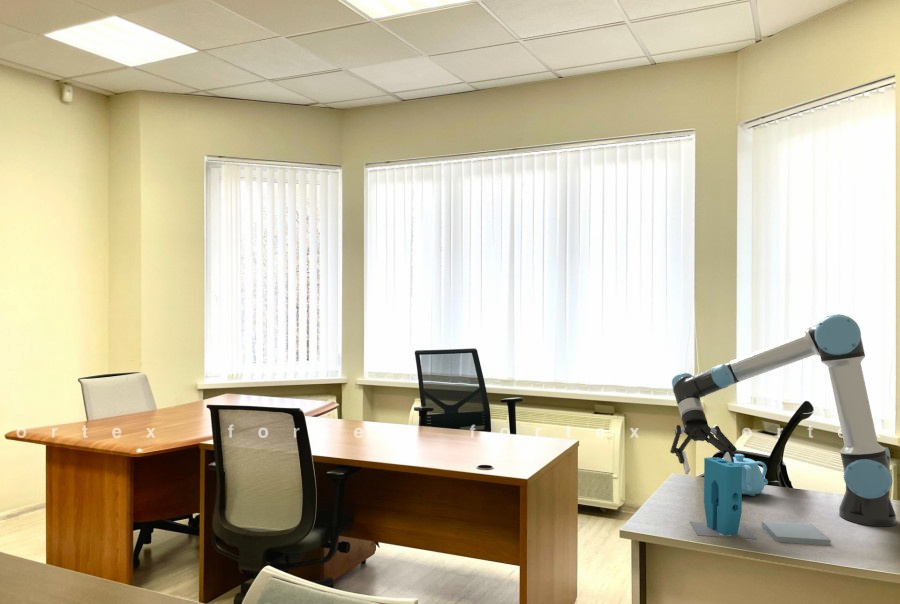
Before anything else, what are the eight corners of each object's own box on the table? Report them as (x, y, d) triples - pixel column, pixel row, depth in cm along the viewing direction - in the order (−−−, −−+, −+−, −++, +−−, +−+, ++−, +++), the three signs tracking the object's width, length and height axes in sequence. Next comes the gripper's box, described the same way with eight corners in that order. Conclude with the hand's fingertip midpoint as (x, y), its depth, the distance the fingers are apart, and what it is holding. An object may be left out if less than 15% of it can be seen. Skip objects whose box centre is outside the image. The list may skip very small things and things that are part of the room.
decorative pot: (748, 501, 225) (748, 461, 226) (705, 490, 238) (706, 452, 238) (772, 494, 235) (773, 456, 235) (730, 484, 248) (731, 447, 248)
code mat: (745, 526, 200) (745, 525, 200) (756, 539, 188) (756, 538, 188) (689, 522, 202) (689, 521, 202) (697, 536, 190) (697, 534, 190)
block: (742, 536, 190) (743, 466, 190) (727, 537, 189) (728, 467, 189) (716, 522, 201) (717, 457, 202) (702, 524, 200) (702, 457, 201)
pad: (811, 528, 198) (811, 523, 198) (830, 545, 184) (830, 539, 184) (761, 525, 200) (761, 520, 200) (776, 541, 186) (776, 536, 186)
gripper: (727, 422, 221) (746, 479, 206) (652, 421, 221) (666, 478, 206) (734, 409, 215) (754, 466, 200) (657, 407, 215) (672, 465, 200)
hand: (710, 472), depth 203 cm, fingers open, 13 cm apart
